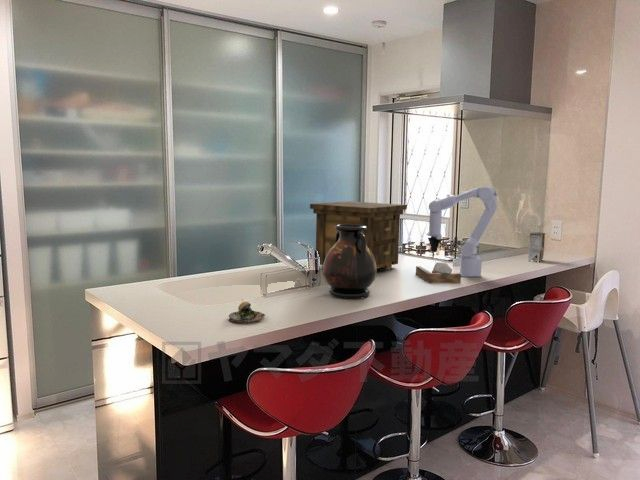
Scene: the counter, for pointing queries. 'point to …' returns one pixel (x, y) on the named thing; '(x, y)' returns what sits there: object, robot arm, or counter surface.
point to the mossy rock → (245, 314)
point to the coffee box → (536, 246)
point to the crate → (372, 215)
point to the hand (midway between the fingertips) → (433, 251)
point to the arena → (438, 276)
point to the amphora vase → (349, 263)
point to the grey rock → (441, 268)
